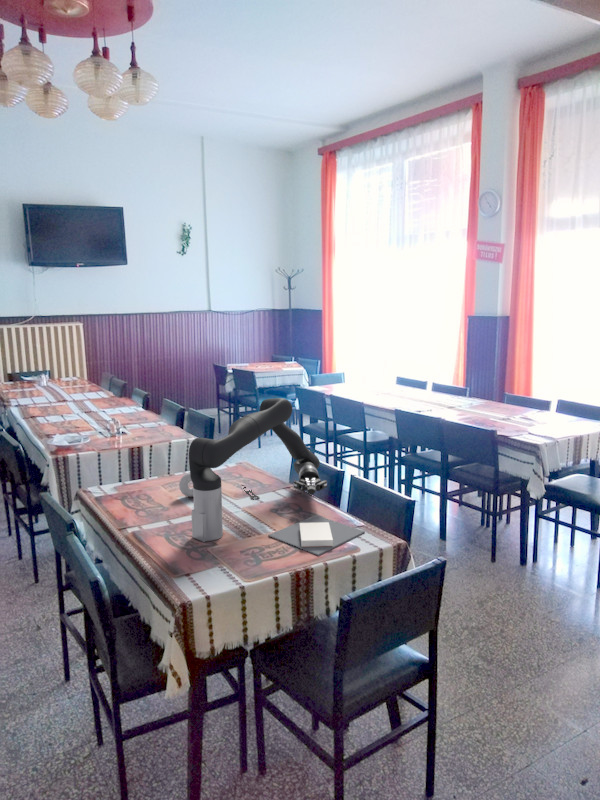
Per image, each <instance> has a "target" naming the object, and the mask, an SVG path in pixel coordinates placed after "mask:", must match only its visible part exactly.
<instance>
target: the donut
mask: <svg viewBox="0 0 600 800" xmlns="http://www.w3.org/2000/svg"><path fill="white" fill-rule="evenodd" d="M190 482H192V480H191V477H190V471H189V472H187V473H185V474H183V476H182V477H181V478H180V481H179V484H178V486H179V490H180V493H181V494H182V495H184V496H186V497H188V498H191V497H193V487H189V483H190Z"/></svg>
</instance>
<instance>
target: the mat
mask: <svg viewBox="0 0 600 800" xmlns="http://www.w3.org/2000/svg"><path fill="white" fill-rule="evenodd" d="M319 522H329V525H330V530H331V534H332V538H333V546H325V547H301V538H300V529H299V523H319ZM365 533H366V531H365V530H362V529H359V528H356V527H354V526H350V525H347V524H345V523H341V522H338V521H334V520H332V519H329V518H327V517H323V516H319V515H317V514H315V515H313V516H310V517H308V518H305V519H302V520H301V521H299V522H296V523H294V524H291V525H289V526H287V527H283V528H282V529H279V530H277V531H275V532H272V533H269V534H268V535H267V537H269V536H271V537H273V538H272V539H274V538H276V539H278V540H277V541H279V540H280V541H279V542H281V541H283V542H282V543H284V542H286V543H285V544H287V543H288V544H287V545H289V544H290V545H289V546H292V545H293V546H292V547H294V546H296V547H295V548H297V547H298V548H297V549H299V548H300V550H302V549H303V550H302V551H304V552H307V551H308V553H310V554H311V555H316V556H317V557H318V556H319V557H320V556H321V555H323V554H326V553H327V552H329V551H331V550H334V549H335V548H337V547H339V546H341V545H343V544H345V543H348V542H349V541H351V540H353V539H355V538H357V537H359V536H361V535H364V534H365ZM271 537H270V538H271ZM276 539H275V540H276Z"/></svg>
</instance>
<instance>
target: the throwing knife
mask: <svg viewBox="0 0 600 800" xmlns="http://www.w3.org/2000/svg"><path fill="white" fill-rule="evenodd" d="M241 485H242V486H245V485H243V484H241ZM243 489H244V488H243ZM252 490H253V489H251V491H250V490H249V491H245V490H244V491H245V492H246V493H245V494H247V493H248V496H249V495H250V494H249V492H250V493H252V495H254V496H251V495H250V496H249V497H250V500H252V499H253V500H254V499H257V500H260V496H258V495H256V494H254V491H253V492H252ZM254 497H257V498H254ZM254 501H255V500H254Z"/></svg>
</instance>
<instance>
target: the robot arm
mask: <svg viewBox="0 0 600 800" xmlns="http://www.w3.org/2000/svg"><path fill="white" fill-rule="evenodd" d="M292 414H293V405H292V402H291V401H290V400H288V399H287V398H284V397H283V398H282V397H277V398H275V397H274V398H265V399H263V400H262V401H261V403H260V405H259V411H255V412H253V413H252V412H251V413H249V414H246V415H244V416H241V417H240V418H239V419H237V420H235V421H234V422H233V423H232V424H231V425H230V426H229V429H228V433H227V435H226V436H224V437H222V438H220V439H219V438H218V439H214V438H207V437H206V438H205V437H197V438H195V439H193V440H192V442H190V445H189V449H188V463H189V465H188V467H189V472H190V477H191V480H192V481H191V482H192V488H193V509H191V510H190V511H191V513H190V514H191V531H192V532H191V534H192V535H191V536H192V538H194V539H195V540H199V541H200V542H203V543H206V542H213V541H216V540H217V541H218V540H219V539H221V538H222V537H223V534H224V532H223V528H224V527H223V500H222V499H223V498H222V497H223V494H222V489H223V488H222V478H221V476H220V475H218V474H217V473H216V472H215V471H213V469H217V468H219V467H221V466H223V465H224V463H226V462H227V461H228V460H229V459H230V458H232V457H233V456H234V455H235V454H236V453H237V452H239V451H240V450H242V449H243V448H244V447H246V446H247V445H249V444H251V443H253V442H254V441H255V440H257V439H258V438H260V437H261V436H263V435H265V434H266V433H267V432H269V431H270V430H271V431H273V433H274V434H275V435H276V436H277V437H278V438H279V439H280V440H281V442H282V443H283V444H284V446H285V447H286V450H288V453H289V454H290V457H291V458H292V459H294V460H295V461H294V462H293V468H294V471H295V473H296V474H297V475H298V480H293V489H296V490H299V491H302V492H307V494H309V495H311V496H312V495H315V494H316V492H320V491H322V490H324V489H326V488H328V481H327V480H321V478H320V475H319V471H318V469H320V465H321V462H320V460H319V458H318V457H317V455H316V454H315V453H313V452H312V451H311V450H310V449H309V448H308V447H307V446H306V444H305V442H304V441H303V439H302V437H301V436H300V435H299V434H298V433H297V432H296V431H294V430H293V429H292V428H291V427H289V426H288V425H286V424H285V423H286V422H287V421H289V419H290V418H291V417H292Z"/></svg>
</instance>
